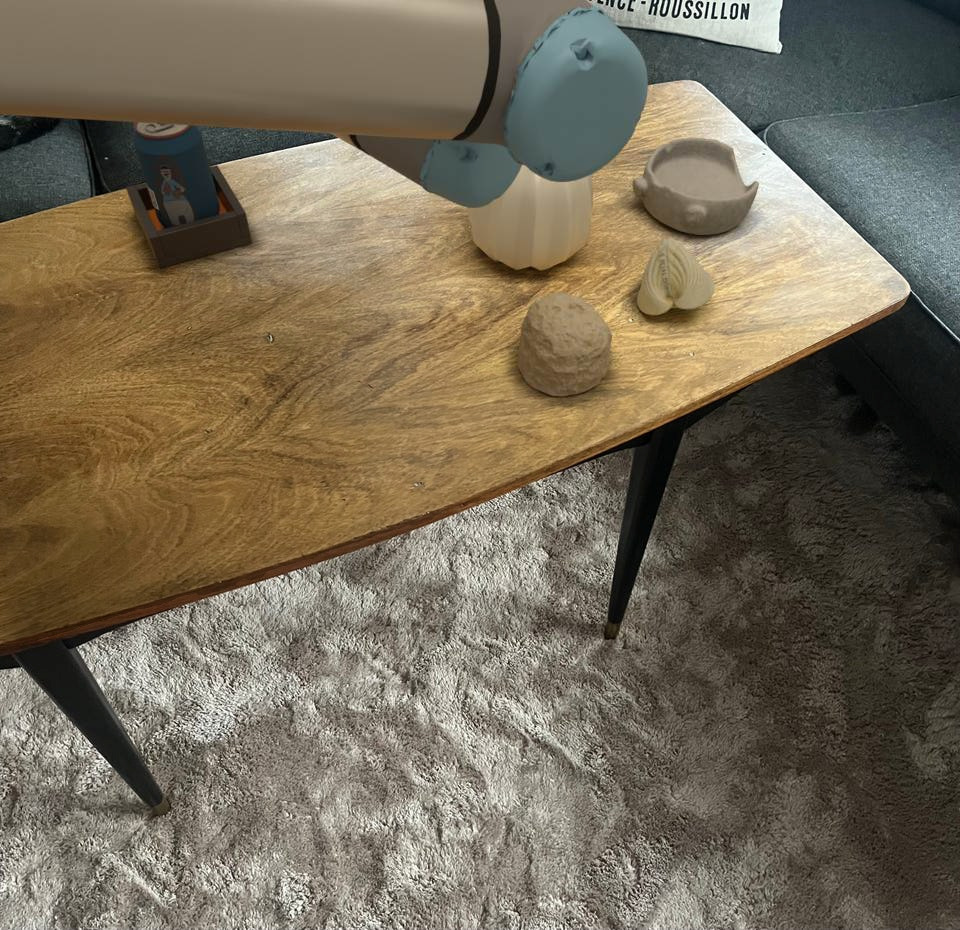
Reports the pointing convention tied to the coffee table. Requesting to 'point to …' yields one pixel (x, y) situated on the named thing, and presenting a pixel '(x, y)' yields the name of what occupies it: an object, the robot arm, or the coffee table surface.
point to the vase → (534, 221)
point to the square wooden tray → (192, 226)
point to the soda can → (176, 172)
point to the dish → (695, 186)
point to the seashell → (673, 280)
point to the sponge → (563, 345)
